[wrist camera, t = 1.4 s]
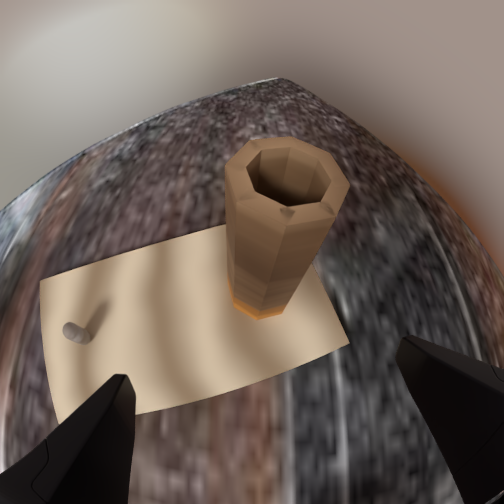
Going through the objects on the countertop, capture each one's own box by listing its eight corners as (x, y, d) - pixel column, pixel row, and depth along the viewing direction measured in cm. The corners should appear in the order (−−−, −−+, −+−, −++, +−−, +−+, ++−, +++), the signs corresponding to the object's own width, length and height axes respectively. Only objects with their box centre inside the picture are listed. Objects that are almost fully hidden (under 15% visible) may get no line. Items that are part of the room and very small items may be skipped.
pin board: (281, 218, 28) (290, 185, 24) (342, 346, 22) (367, 333, 17) (47, 286, 22) (21, 265, 18) (67, 423, 16) (35, 424, 12)
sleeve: (300, 279, 23) (358, 166, 12) (272, 329, 21) (322, 245, 9) (249, 251, 24) (264, 126, 13) (218, 298, 22) (204, 186, 10)
